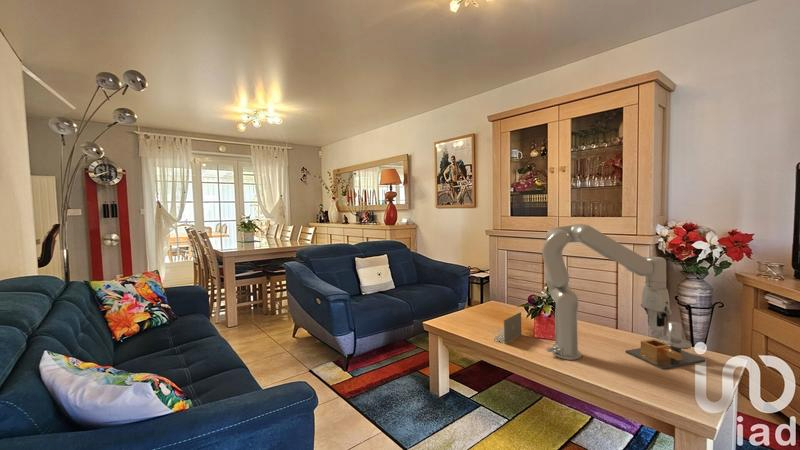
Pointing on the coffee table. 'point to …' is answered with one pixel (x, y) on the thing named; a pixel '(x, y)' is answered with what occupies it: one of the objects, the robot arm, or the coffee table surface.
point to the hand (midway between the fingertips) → (656, 324)
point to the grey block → (653, 320)
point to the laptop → (510, 329)
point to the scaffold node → (666, 350)
